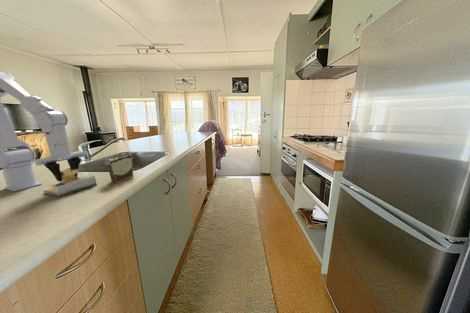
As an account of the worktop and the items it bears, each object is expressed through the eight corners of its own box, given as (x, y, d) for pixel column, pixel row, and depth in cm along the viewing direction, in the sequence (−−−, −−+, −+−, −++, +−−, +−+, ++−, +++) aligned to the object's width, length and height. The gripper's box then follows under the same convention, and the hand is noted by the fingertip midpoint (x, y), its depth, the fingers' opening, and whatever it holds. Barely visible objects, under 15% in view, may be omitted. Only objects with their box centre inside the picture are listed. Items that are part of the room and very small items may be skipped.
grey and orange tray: (44, 193, 66) (41, 183, 65) (81, 182, 77) (79, 173, 76) (59, 197, 62) (56, 186, 61) (96, 184, 73) (94, 175, 72)
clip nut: (59, 183, 69) (56, 171, 68) (73, 179, 73) (70, 167, 72) (67, 185, 68) (63, 172, 66) (81, 181, 72) (78, 169, 70)
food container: (124, 174, 86) (120, 153, 83) (135, 174, 84) (132, 153, 82) (100, 183, 74) (95, 160, 72) (113, 184, 73) (108, 160, 70)
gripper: (37, 147, 60) (48, 186, 63) (86, 141, 73) (94, 173, 76) (27, 147, 62) (38, 184, 65) (76, 141, 75) (83, 172, 78)
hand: (67, 178), depth 71 cm, fingers closed on clip nut, 4 cm apart
